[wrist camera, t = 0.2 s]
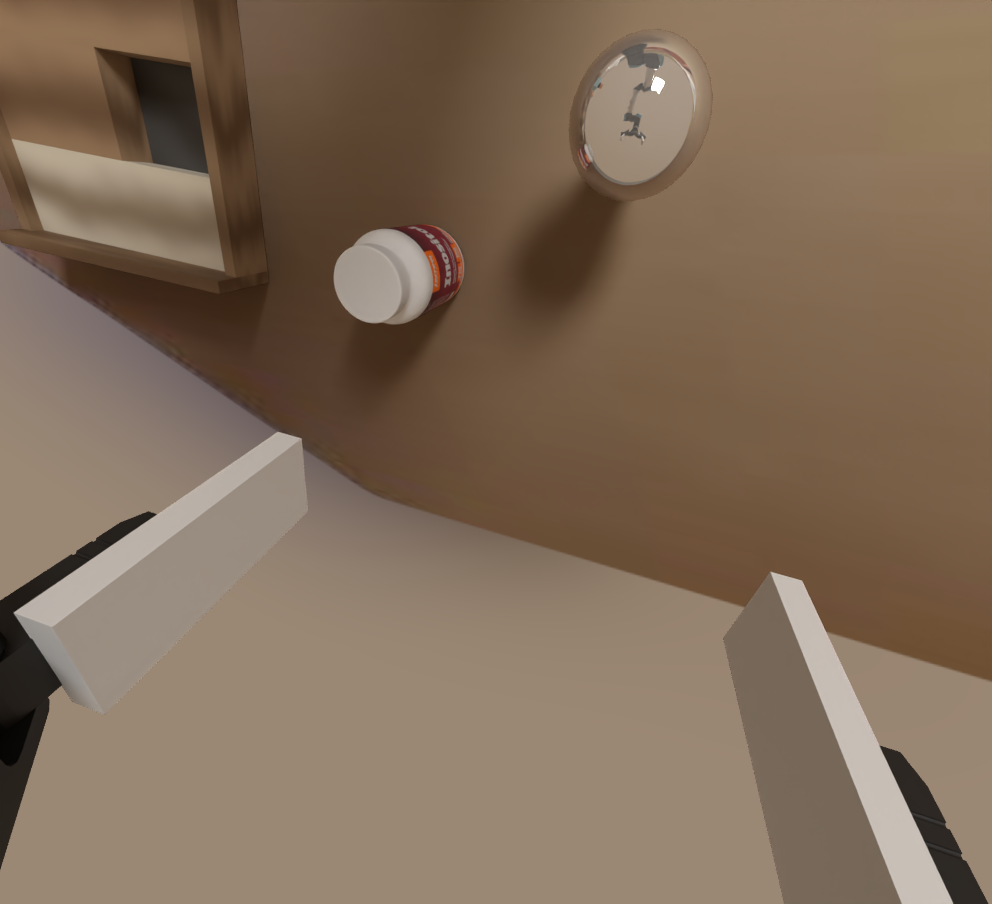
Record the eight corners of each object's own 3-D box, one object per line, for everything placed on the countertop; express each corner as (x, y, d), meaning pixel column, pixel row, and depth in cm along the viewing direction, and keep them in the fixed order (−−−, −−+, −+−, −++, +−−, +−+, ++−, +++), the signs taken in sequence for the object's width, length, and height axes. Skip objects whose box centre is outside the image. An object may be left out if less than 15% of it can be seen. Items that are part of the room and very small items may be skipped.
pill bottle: (481, 275, 36) (433, 302, 27) (427, 317, 39) (367, 354, 30) (435, 205, 34) (366, 208, 25) (382, 254, 37) (304, 273, 28)
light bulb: (579, 204, 32) (561, 207, 22) (581, 82, 29) (560, 20, 19) (682, 196, 30) (712, 195, 20) (696, 65, 27) (741, -14, 17)
